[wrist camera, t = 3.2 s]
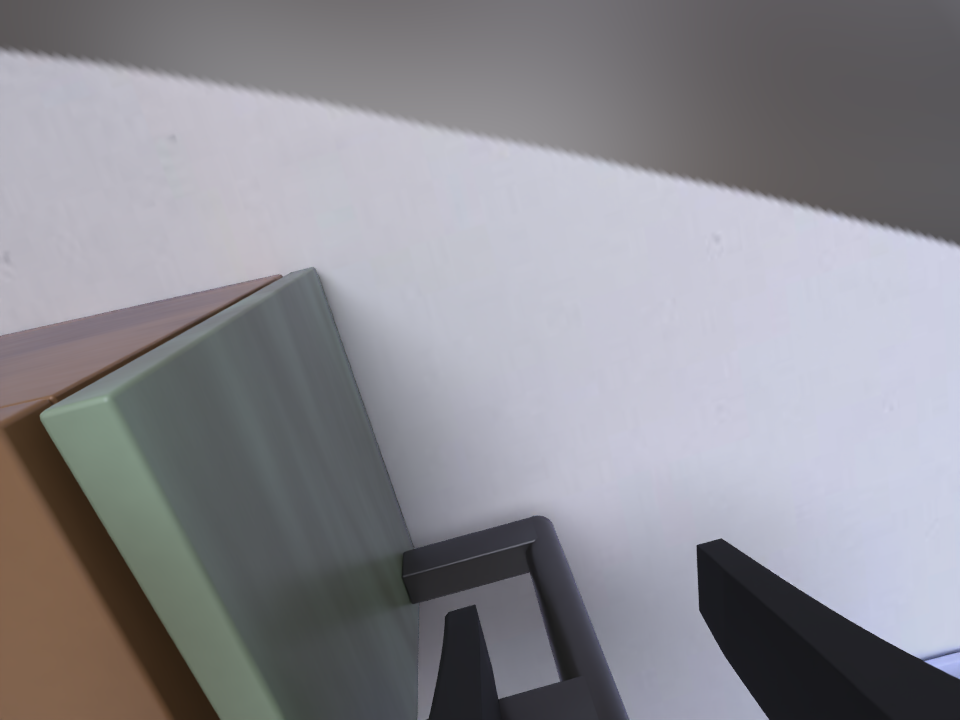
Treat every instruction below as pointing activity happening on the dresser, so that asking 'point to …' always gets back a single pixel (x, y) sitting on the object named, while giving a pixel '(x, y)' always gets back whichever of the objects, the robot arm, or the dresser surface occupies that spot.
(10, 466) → the cupboard
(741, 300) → the dresser surface
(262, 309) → the door
